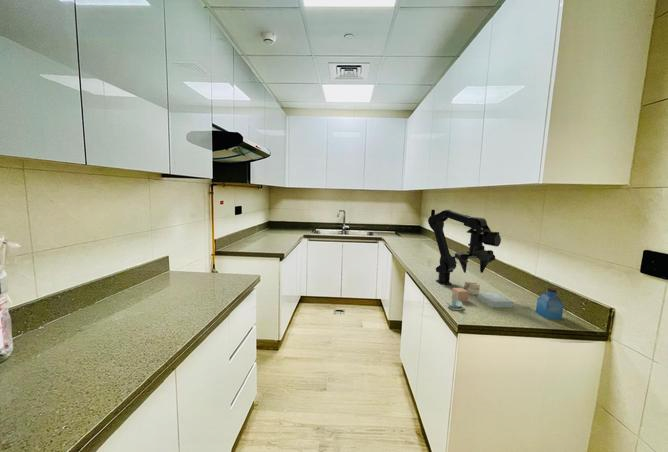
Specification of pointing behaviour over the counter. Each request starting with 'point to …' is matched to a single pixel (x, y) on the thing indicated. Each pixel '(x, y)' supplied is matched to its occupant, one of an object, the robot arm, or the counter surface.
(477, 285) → the birch cube
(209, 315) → the counter surface
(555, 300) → the perfume bottle
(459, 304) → the pacifier
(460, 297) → the terracotta cube
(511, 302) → the blue-grey slab
